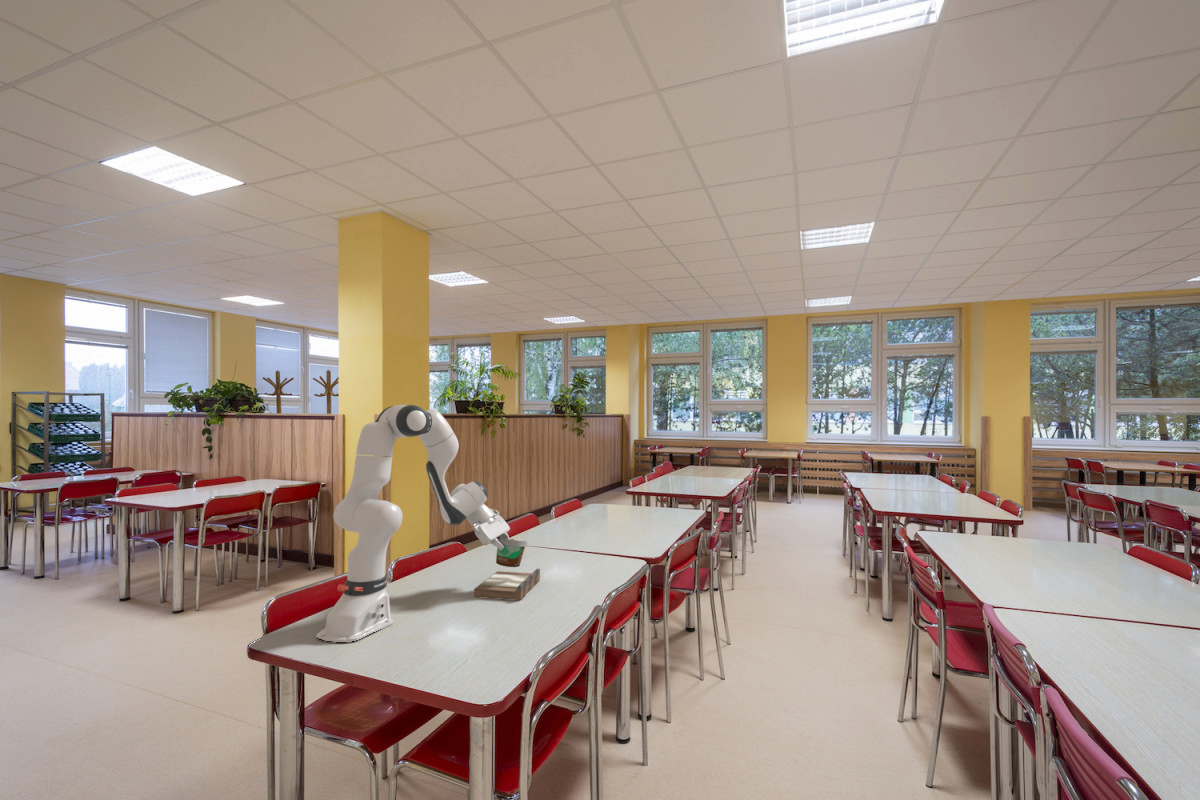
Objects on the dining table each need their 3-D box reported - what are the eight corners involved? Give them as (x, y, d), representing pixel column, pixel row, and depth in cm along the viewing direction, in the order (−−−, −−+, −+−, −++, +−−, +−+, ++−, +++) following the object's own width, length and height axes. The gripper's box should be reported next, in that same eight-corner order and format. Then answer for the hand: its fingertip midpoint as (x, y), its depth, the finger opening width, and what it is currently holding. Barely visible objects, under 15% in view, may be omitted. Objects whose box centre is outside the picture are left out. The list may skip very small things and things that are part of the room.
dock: (520, 600, 181) (521, 586, 181) (473, 597, 184) (474, 583, 185) (539, 581, 203) (539, 568, 203) (497, 578, 206) (497, 566, 206)
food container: (487, 563, 191) (492, 536, 193) (493, 560, 197) (498, 534, 199) (517, 569, 189) (522, 542, 190) (523, 567, 195) (527, 540, 196)
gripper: (476, 519, 186) (501, 547, 184) (498, 509, 206) (521, 534, 204) (465, 531, 187) (490, 559, 185) (488, 520, 207) (510, 545, 205)
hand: (506, 546), depth 194 cm, fingers closed on food container, 6 cm apart
